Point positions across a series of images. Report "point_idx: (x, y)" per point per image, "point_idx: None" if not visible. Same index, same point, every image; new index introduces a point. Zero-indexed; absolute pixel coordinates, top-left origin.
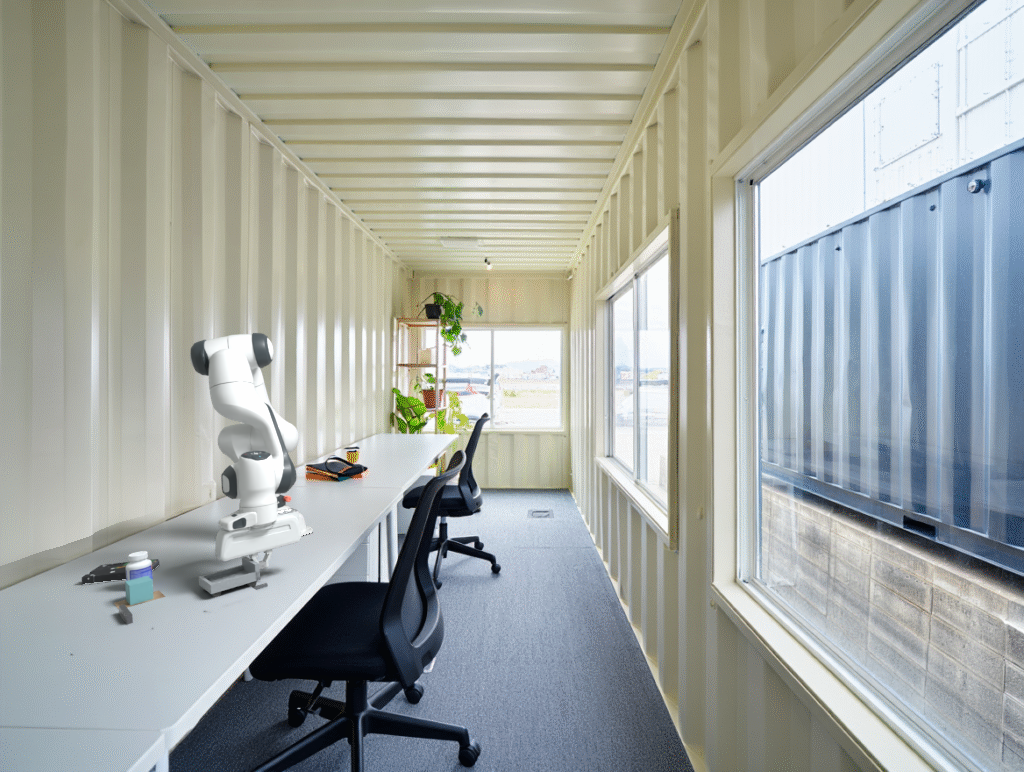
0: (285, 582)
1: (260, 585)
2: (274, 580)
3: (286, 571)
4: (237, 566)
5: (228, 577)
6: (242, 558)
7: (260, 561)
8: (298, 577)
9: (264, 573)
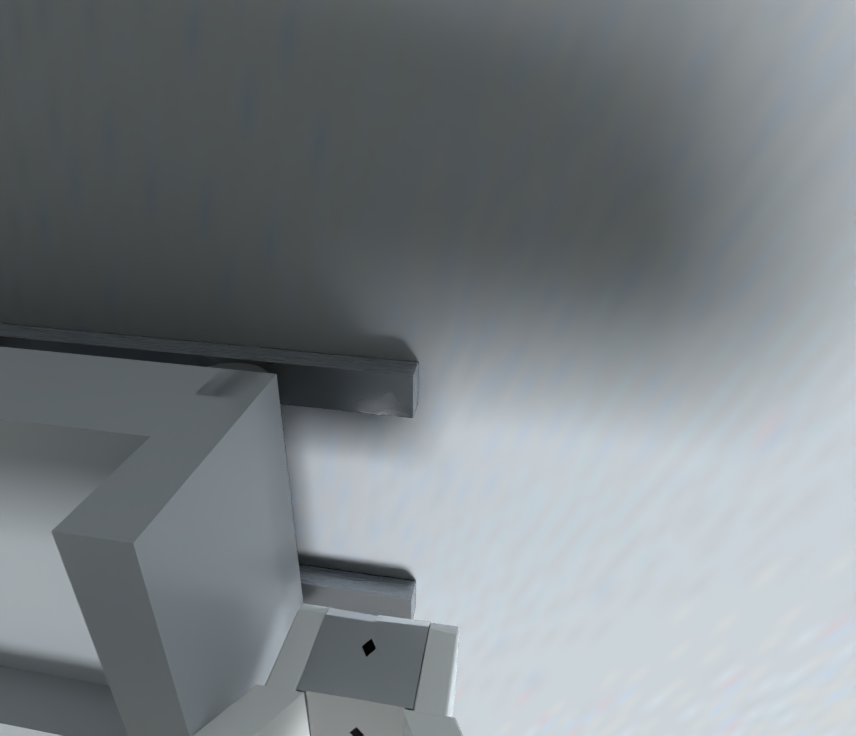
0: (560, 658)
1: (350, 609)
2: (529, 546)
3: (802, 424)
4: (77, 448)
5: (14, 518)
6: (73, 554)
7: (352, 720)
8: (711, 664)
9: (599, 229)
